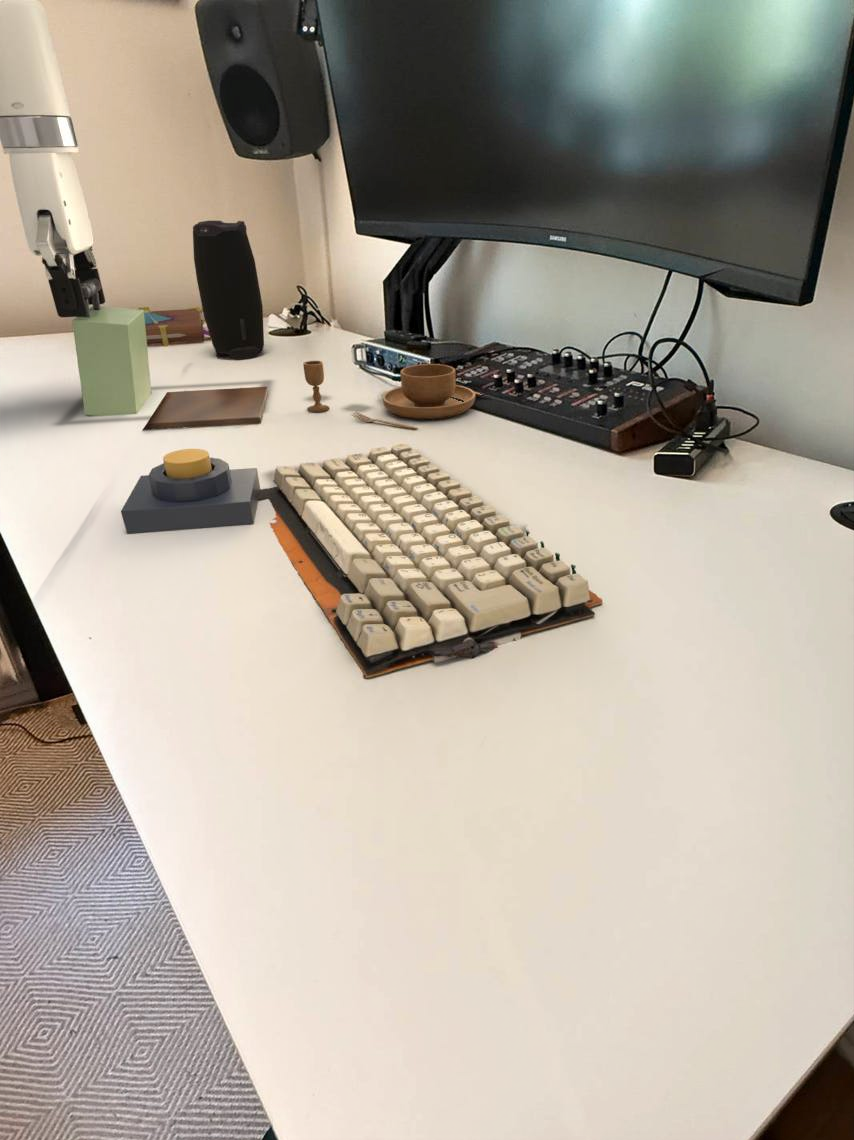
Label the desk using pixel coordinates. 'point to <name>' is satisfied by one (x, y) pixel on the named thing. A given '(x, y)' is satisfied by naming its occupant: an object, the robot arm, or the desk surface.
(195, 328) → the book
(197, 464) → the bell button
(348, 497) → the mechanical keyboard
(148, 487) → the grey mounting base
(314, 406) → the place setting
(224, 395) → the brown wooden board
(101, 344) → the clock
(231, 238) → the portable speaker
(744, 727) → the desk surface
